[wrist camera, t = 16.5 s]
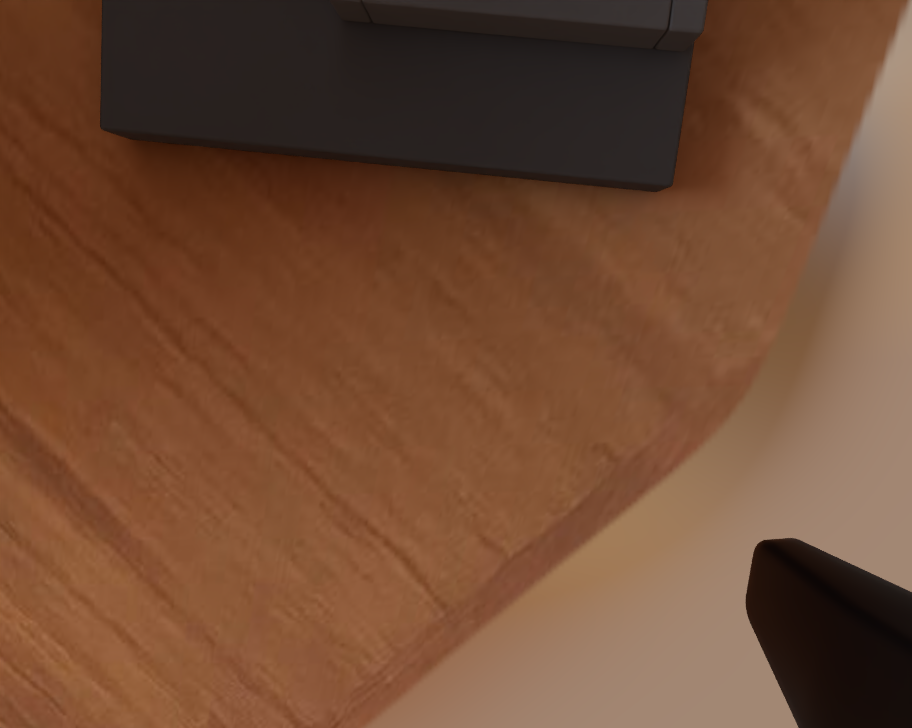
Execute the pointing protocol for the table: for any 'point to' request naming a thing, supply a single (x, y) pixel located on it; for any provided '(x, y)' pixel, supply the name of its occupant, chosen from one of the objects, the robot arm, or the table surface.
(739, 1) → the table surface
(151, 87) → the base pad
